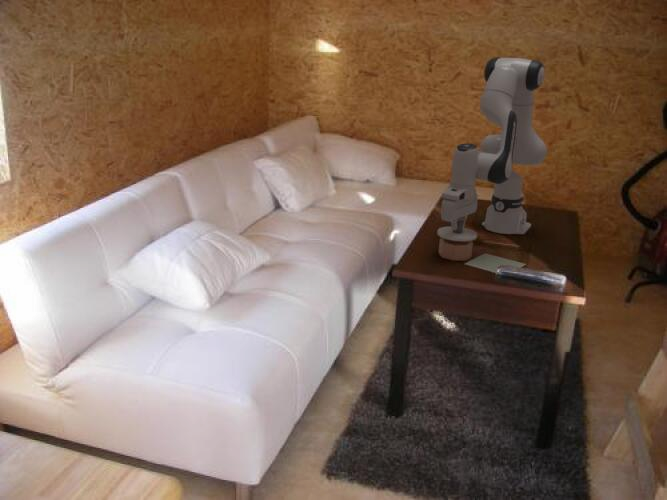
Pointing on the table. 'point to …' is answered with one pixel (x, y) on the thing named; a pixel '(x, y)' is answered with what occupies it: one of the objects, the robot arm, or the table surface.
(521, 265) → the mat
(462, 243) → the bowl
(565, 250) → the table surface
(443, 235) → the lid
